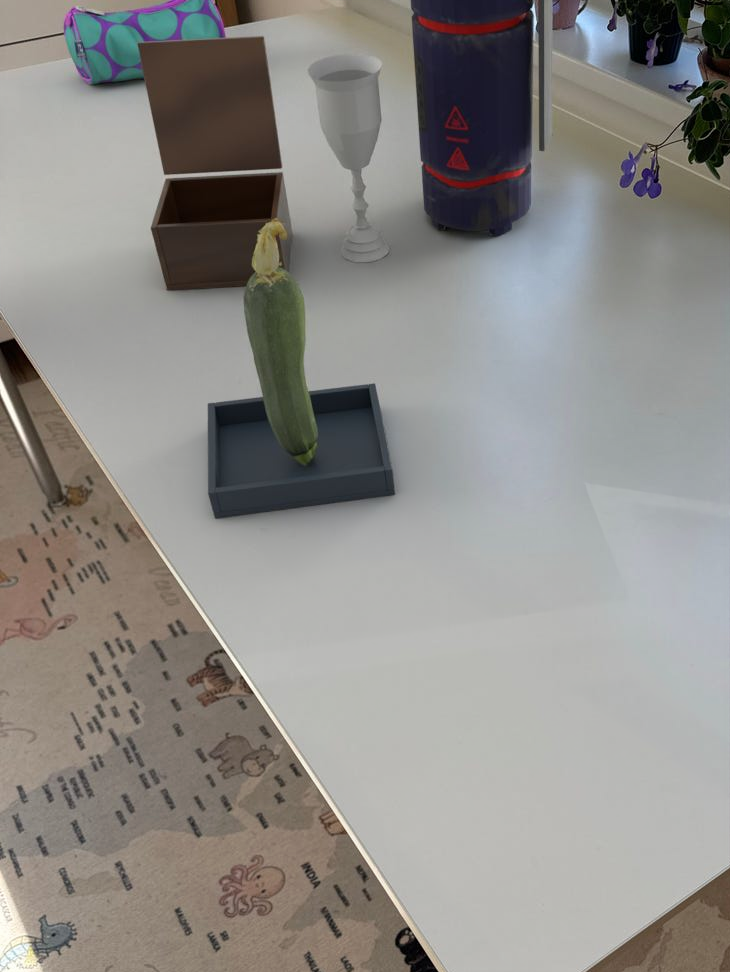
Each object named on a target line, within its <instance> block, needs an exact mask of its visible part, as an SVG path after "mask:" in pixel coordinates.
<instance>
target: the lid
mask: <svg viewBox="0 0 730 972" xmlns="http://www.w3.org/2000/svg"><path fill="white" fill-rule="evenodd" d="M265 40H266V39H265V35H254V36H253V35H252V36H250V35H249V36H232V37H226V38H209V39H189V40H169V41H149V42H138V43H137V45H138V50H139V55H140V60H141V65H142V69H143V74H144V78H143V79H144V83H145V88H146V93H147V98H148V103H149V108H150V114H151V117H152V123H153V127H154V132H155V137H156V141H157V142H156V143H157V148H158V152H159V157H160V161H161V167H162V171H163V175H164V176H170V175H173V176H174V175H187V174H188V175H190V174H191V175H192V174H206V173H207V174H208V173H225V172H226V173H227V172H244V171H247V172H248V171H262V170H263V171H264V170H265V171H266V170H281V169H282V168H283V163H282V153H281V147H280V141H279V140H280V139H279V133H278V127H277V126H278V125H277V119H276V112H275V105H274V104H275V103H274V97H273V90H272V83H271V76H270V69H269V63H268V55H267V48H266V47H267V46H266V41H265Z"/></svg>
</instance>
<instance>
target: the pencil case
mask: <svg viewBox="0 0 730 972" xmlns="http://www.w3.org/2000/svg"><path fill="white" fill-rule="evenodd" d="M63 36H64V39H65V43H66V47H67V50H68V52H69V55H70V57H71V59H72V62H73V64H74V66H75V68H76V71H77V73H78V74H79V76H80V77H81V78H82V80H84V82H85V83H86V84H88V85H96V84H99V83H100V84H102V83H104V84H105V83H117V82H122V81H130V80H137V79H144V74H143V69H142V65H141V60H140V55H139V50H138V45H137V43H138V42H149V41H169V40H189V39H209V38H227V35H226V30H225V25H224V22H223V19H222V17H221V14H220V12H219V9H218V7H217V6H216V4H215V2H214V1H213V0H168V1H166V2H160V3H157V4H154V5H151V6H146V7H140V8H136V9H129V10H124V11H114V12H104V11H102V10H101V11H100V10H97V9H92V8H85V9H84V6H83V5H80V4H77V5H76V6H72V7H71V8H70V9H69V11H67V12H66V14H65V17H64V20H63Z"/></svg>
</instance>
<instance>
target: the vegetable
mask: <svg viewBox="0 0 730 972" xmlns="http://www.w3.org/2000/svg"><path fill="white" fill-rule="evenodd" d="M283 224H284V225H285V223H283ZM258 232H259V233H261V234H260V235H259V234H258V235H257V236H258V239H257V241H258V243H257V244H256V248H255V251H254V256H253V258H252V267H253V268H254V270H255V271H256V272H255V273H254V274H253V275H252V276H251V278H250V279H249V281H248V283H247V286H245V289H244V293H243V312H244V313H243V314H244V319H245V324H246V325H245V326H246V331H247V335H248V341H249V344H250V348H251V351H252V356H253V362H254V366H255V370H256V373H257V377H258V381H259V386H260V389H261V394H262V397H263V400H264V405H265V409H266V413H267V417H268V420H269V422H270V425H271V427H272V430H273V432H274V434H275V437H276V439H277V441H278V443H279V444H280V446H281V447H282V448H283V449H284V450H285V451H286V452H287V453H288V454H290V455H291V456H294V457H295V459H296V460H297V461H299V462H300V463H301V464H303V465H305V466H307V463H308V462H309V463H310V461H311V460H312V457H313V455H314V453H315V450H316V449H317V443H316V441H317V437H318V429H317V425H316V421H315V417H314V413H313V409H312V404H311V399H310V395H309V391H310V390H309V388H308V385H307V379H306V373H305V350H306V340H307V339H306V338H307V337H306V336H307V335H306V307H305V306H306V305H305V299H304V295H303V293H302V289H301V288H300V286H299V285H300V284H299V283H298V282H297V280H296V279H295V278H294V277H293V276H292V274H290V273H289V271H288V272H287V271H286V270H284V269H283V268H280V267H278V266H282V263H281V262H279V251H278V246H277V241H276V239H275V235H277V234H278V233H280V235H279V237H280V238H283V240H284V239H287V238H286V237H287V232H286V231H285V229H284V228H283V226H282V224H281V222H280V221H279V220H278V219H276V218H275V219H273V220H272V221H271V222H269V223H268V224H267V223H266V225H265V226H264V227H263V228H262V229H261V230H259V231H258Z"/></svg>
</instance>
